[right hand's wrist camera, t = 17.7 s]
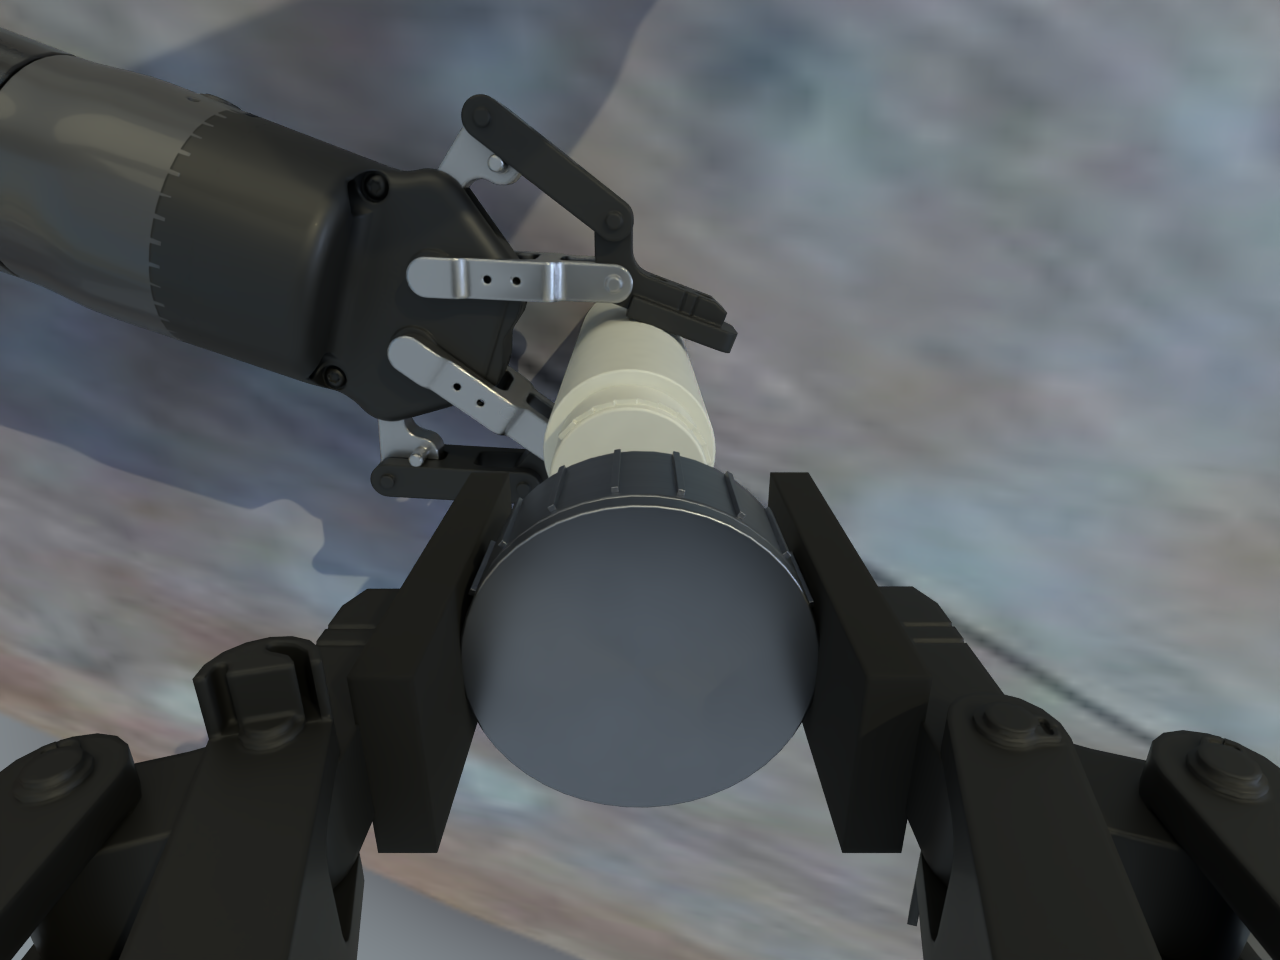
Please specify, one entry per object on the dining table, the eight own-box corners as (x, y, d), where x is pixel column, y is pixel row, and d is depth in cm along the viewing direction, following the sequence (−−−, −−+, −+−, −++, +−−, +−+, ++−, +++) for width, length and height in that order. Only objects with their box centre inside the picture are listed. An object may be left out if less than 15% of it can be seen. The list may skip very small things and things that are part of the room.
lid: (466, 689, 13) (435, 782, 11) (511, 413, 11) (482, 463, 9) (745, 739, 14) (765, 836, 12) (834, 481, 12) (876, 542, 10)
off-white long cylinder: (700, 336, 31) (765, 479, 16) (633, 407, 33) (635, 601, 17) (626, 267, 30) (621, 349, 15) (559, 343, 31) (493, 490, 16)
